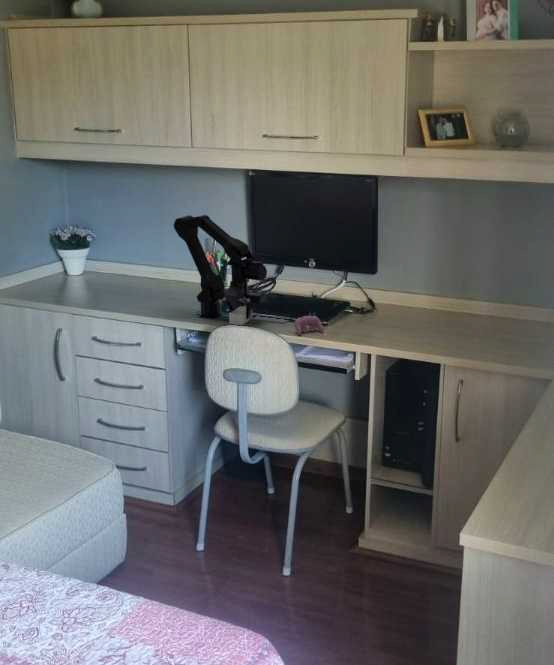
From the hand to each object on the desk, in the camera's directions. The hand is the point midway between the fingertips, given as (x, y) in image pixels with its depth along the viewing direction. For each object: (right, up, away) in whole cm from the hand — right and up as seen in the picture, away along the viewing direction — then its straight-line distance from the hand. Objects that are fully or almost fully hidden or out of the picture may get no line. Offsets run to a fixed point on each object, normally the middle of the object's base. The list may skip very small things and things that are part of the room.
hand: (241, 318), depth 326 cm
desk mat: (+12, 0, +3) cm, 13 cm away
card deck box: (0, -1, 0) cm, 1 cm away
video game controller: (+25, -6, -14) cm, 29 cm away
